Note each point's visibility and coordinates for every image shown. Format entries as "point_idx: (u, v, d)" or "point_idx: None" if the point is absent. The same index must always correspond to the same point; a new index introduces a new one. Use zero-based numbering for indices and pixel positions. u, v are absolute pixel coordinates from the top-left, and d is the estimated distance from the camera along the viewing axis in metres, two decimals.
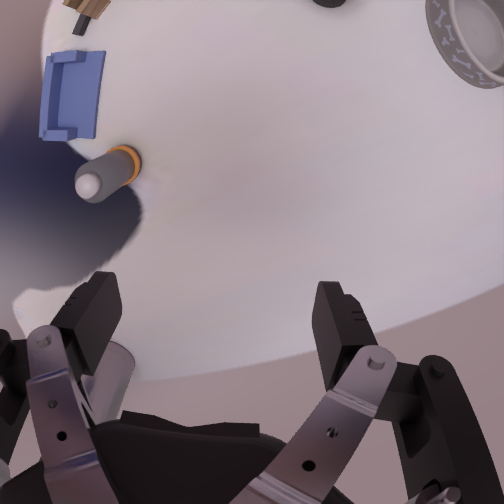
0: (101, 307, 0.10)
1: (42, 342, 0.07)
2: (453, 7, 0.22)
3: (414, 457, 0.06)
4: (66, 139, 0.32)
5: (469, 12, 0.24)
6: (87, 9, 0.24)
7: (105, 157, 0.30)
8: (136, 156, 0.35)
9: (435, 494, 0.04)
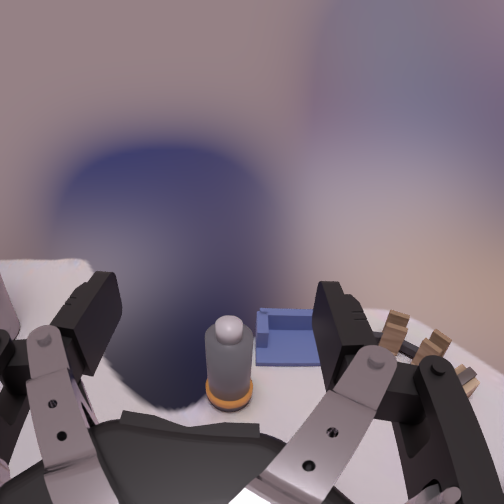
0: (101, 307, 0.10)
1: (42, 342, 0.07)
2: None
3: (414, 457, 0.06)
4: (259, 332, 0.37)
5: None
6: (389, 332, 0.37)
7: (251, 358, 0.29)
8: (241, 403, 0.30)
9: (435, 494, 0.04)
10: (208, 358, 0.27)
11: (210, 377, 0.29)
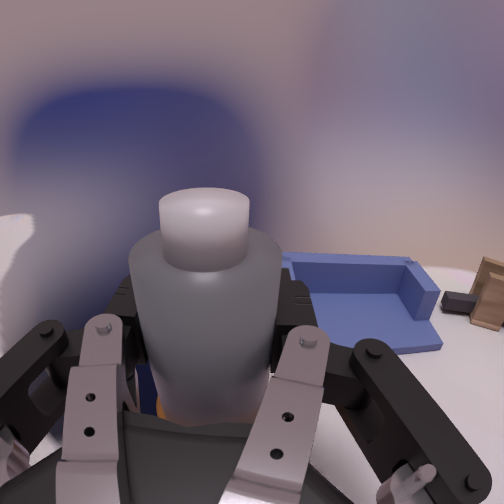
0: None
1: (101, 330, 0.08)
2: None
3: (373, 441, 0.07)
4: None
5: None
6: (494, 288, 0.18)
7: None
8: None
9: (408, 474, 0.05)
10: (141, 323, 0.09)
11: (157, 383, 0.10)
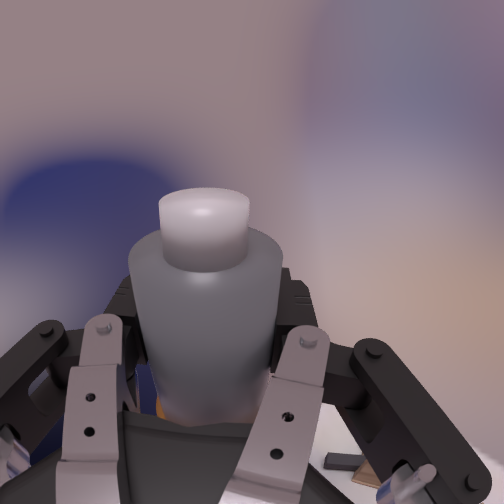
0: None
1: (101, 330, 0.08)
2: None
3: (373, 441, 0.07)
4: None
5: None
6: None
7: None
8: None
9: (408, 474, 0.05)
10: (141, 323, 0.09)
11: (157, 384, 0.10)
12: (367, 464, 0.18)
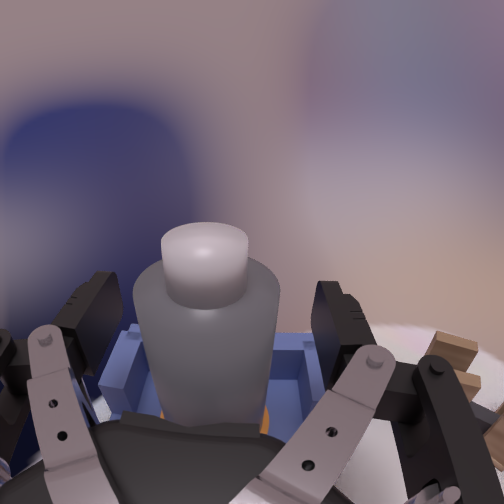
0: (102, 307, 0.10)
1: (43, 342, 0.07)
2: None
3: (413, 456, 0.06)
4: (102, 384, 0.13)
5: None
6: None
7: (271, 354, 0.10)
8: None
9: (435, 494, 0.04)
10: (146, 351, 0.09)
11: (161, 403, 0.10)
12: None
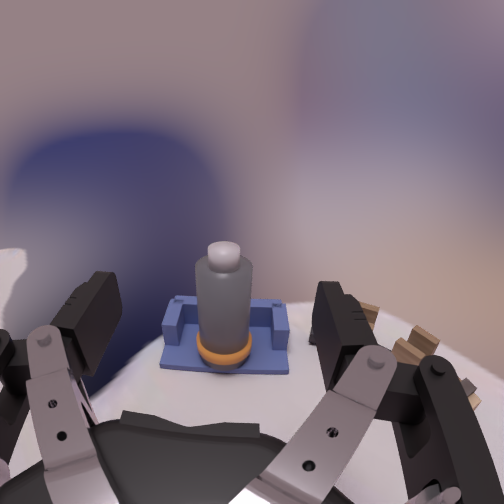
0: (101, 307, 0.10)
1: (42, 342, 0.07)
2: None
3: (414, 457, 0.06)
4: (164, 324, 0.28)
5: None
6: None
7: (250, 297, 0.25)
8: (238, 358, 0.26)
9: (435, 494, 0.04)
10: (199, 293, 0.24)
11: (201, 322, 0.25)
12: None
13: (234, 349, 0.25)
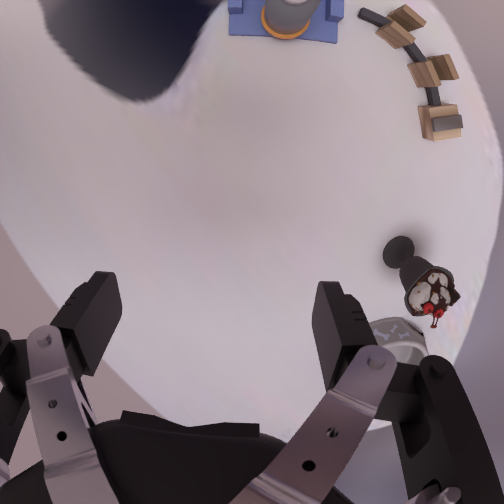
0: (101, 307, 0.10)
1: (42, 342, 0.07)
2: (393, 346, 0.41)
3: (414, 457, 0.06)
4: (229, 6, 0.24)
5: (393, 350, 0.48)
6: (392, 31, 0.24)
7: None
8: (298, 35, 0.26)
9: (435, 494, 0.04)
10: (269, 10, 0.20)
11: (268, 18, 0.23)
12: (389, 27, 0.23)
13: (295, 32, 0.25)
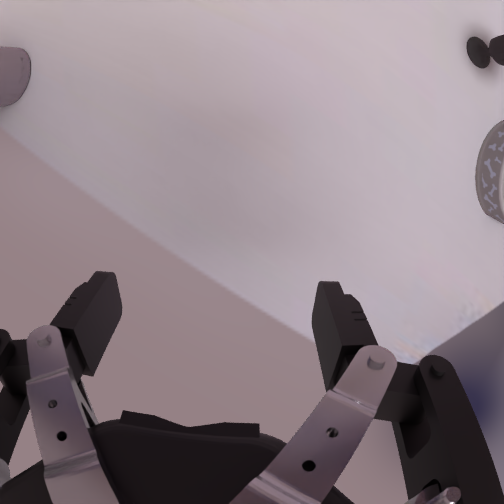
0: (101, 307, 0.10)
1: (42, 342, 0.07)
2: None
3: (414, 457, 0.06)
4: None
5: None
6: None
7: None
8: None
9: (435, 494, 0.04)
10: None
11: None
12: None
13: None
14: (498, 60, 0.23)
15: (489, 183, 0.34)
